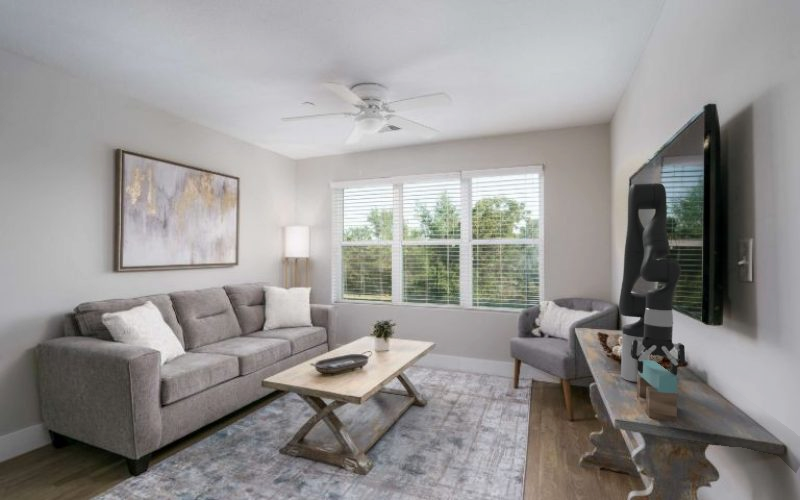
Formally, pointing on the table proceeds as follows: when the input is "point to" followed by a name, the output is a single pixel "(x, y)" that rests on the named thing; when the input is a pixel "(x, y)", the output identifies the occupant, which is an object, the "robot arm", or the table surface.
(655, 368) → the glasses case
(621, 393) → the table surface
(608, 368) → the table surface
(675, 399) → the wooden block pair
